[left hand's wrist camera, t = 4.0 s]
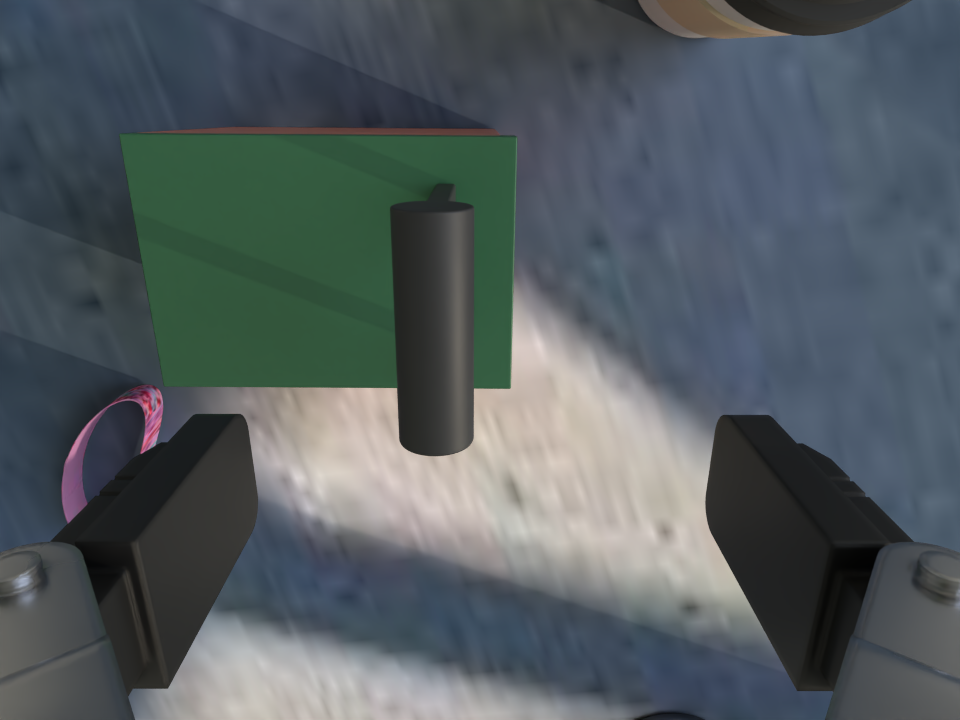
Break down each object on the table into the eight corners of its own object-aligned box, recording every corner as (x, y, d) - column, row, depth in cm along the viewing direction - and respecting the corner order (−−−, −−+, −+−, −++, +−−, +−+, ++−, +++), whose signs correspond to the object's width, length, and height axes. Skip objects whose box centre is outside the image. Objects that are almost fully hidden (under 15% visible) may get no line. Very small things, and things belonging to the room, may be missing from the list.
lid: (515, 135, 24) (535, 148, 15) (509, 378, 27) (523, 502, 19) (134, 132, 24) (-65, 144, 15) (175, 376, 27) (33, 499, 19)
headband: (107, 366, 38) (87, 381, 36) (173, 392, 39) (157, 408, 37) (64, 510, 42) (44, 532, 40) (126, 532, 42) (109, 554, 40)
